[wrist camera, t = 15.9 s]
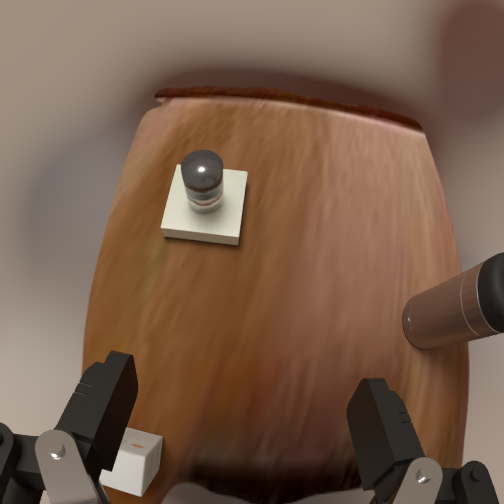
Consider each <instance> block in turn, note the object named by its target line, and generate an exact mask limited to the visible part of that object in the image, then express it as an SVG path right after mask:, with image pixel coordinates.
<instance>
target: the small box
mask: <svg viewBox="0 0 504 504" xmlns="http://www.w3.org/2000/svg"><path fill="white" fill-rule="evenodd" d="M162 442H163V437H162V436H159V435H154V434H150V433H146V432H143V431H139V430H135V429H132V428H128V427H126V430H125V433H124V436H123V439H122V442H121V445H120V448H119V451H118V454H117V457H116V461H115V464H114V467H113V470H112V472H110V471H107V470H103V469H102V472H101V475H100V478H99V479H100V482H101V484H103V485H105V486H108V487H111V488H114V489H117V490H120V491H123V492H127V493H130V494H133V495H137V496H140V497H141V496H143V494H144V492H145V491H146V489H147V488H148V486H149V485H150V483H151V482H152V480H153V478H154V477H155V475H156V473H157V472H158V470H159V466H160V458H161V450H162Z"/></svg>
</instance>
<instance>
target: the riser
mask: <svg viewBox="0 0 504 504" xmlns="http://www.w3.org/2000/svg"><path fill="white" fill-rule="evenodd" d="M246 179H247V172H244V171H236V170H227V169H223V192H224V200H223V204H222V206H221V207H220V208H219V209H218V210H217V211H216V212H214V213H211V214H199V213H196V212H195V211H193V210H192V209H191V208H190V206H189V204H188V200H187V196H186V191H185V187H184V183H183V178H182V174H181V165H177V167H176V171H175V174H174V178H173V181H172V185H171V189H170V193H169V196H168V200H167V204H166V208H165V212H164V216H163V220H162V224H161V230H162V232H163V234H164V236H165V237H173V238H181V239H190V240H198V241H206V242H214V243H222V244H230V245H238V241H239V233H240V225H241V217H242V210H243V202H244V194H245V187H246Z"/></svg>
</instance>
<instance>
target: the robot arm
mask: <svg viewBox="0 0 504 504" xmlns="http://www.w3.org/2000/svg"><path fill="white" fill-rule="evenodd" d="M403 328H404V332H405V334H406V337H407V338H408V340H409V341H410V343H412V344H413V345H414V346H415V347H417V348H420V349H431V348H436V347H442V346H448V345H453V344H458V343H463V342H467V341H472V340H476V339H481V338H484V337H489V336H492V335H497V334H500V333H504V253H499V254H497V255H495V256H493V257H491V258H490V259H488V260H486V261H484V262H482V263H480V264H478V265H476V266H475V267H473V268H471V269H469V270H467V271H465V272H463V273H461V274H459V275H457V276H455V277H453V278H451V279H449V280H447V281H445V282H443V283H441V284H439V285H437V286H435V287H433V288H431V289H428V290H426V291H424V292H422V293H420V294H418V295H416V296H414V297H412V298H411V299H410V300H409V301H408V303H407V304H406V307H405V309H404V313H403ZM137 393H138V380H137V375H136V369H135V363H134V357H133V355H130V354H126V353H121V352H117V351H111V352H110V353H109V355H108V356H107V358H106V360H105V362H104V363H100V362H95V363H94V364H93V365H91V366H90V367H89V368H88V369H86V370H85V372H84V374H83V376H82V378H81V379H80V383H79V384H78V385H77V387H76V389H75V392H74V393H73V394H72V396H71V398H70V400H69V402H68V404H67V406H66V408H65V410H64V412H63V414H62V416H61V418H60V420H59V422H58V424H57V425H56V427H55V428H54V429H53V430H50V431H46V432H44V433H43V434H41V435H40V436H28V435H19V434H13V433H12V431H11V430H10V429H9V428H8V427H7V426H6V425H5V424H3V423H0V504H40V500H41V496H42V493H43V490H46V491H47V494H48V497H49V499H50V502H51V504H111V503H110V501H109V499H108V497H107V494H106V492H105V490H104V488H103V486H102V484H101V482H100V479H99V478H100V475H101V472H102V469H103V470H107V471H110V472H112V470H113V467H114V464H115V461H116V457H117V454H118V451H119V448H120V445H121V442H122V439H123V436H124V433H125V430H126V427H127V424H128V421H129V418H130V415H131V412H132V410H133V407H134V404H135V401H136V398H137ZM347 421H348V425H349V429H350V433H351V437H352V442H353V446H354V450H355V454H356V459H357V463H358V468H359V472H360V477H361V481H362V486H363V490H364V491H366V490H372V489H374V490H375V494H376V495H375V496H374V497H373V498H372V500H371V502H370V503H369V504H499V502H498V498H497V495H496V492H495V489H494V486H493V484H492V480H491V478H490V475H489V472H488V470H487V468H486V467H485V465H484V464H482V463H481V462H478V461H470V462H468V463H466V464H465V465H464V466H463V467H462V468H461V469H454V468H441V467H440V466H439V464H438V463H437V462H436V461H434V460H432V459H430V458H426V457H425V455H424V453H423V450H422V447H421V445H420V442H419V439H418V437H417V434H416V432H415V429H414V427H413V424H412V423H411V419H410V417H409V414H407V409H406V407H405V404H404V402H403V400H402V399H401V398H400V397H399V396H398V395H397V394H396V393H395V391H389V388H388V386H387V383H386V381H385V380H384V379H383V378H364V379H362V380H361V382H360V383H359V385H358V387H357V389H356V391H355V393H354V395H353V396H352V398H351V400H350V402H349V404H348V407H347Z"/></svg>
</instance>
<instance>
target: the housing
mask: <svg viewBox="0 0 504 504" xmlns="http://www.w3.org/2000/svg"><path fill="white" fill-rule="evenodd" d="M181 174H182V178H183V183H184V187H185V191H186V196H187V200H188V204H189V206H190V208H191V209H192V210H193V211H195V212H196V213H199V214H211V213H214V212H216V211H217V210H218V209H219V208H220V207H221V206H222V204H223V200H224V192H223V162H222V160H221V158H220V157H219V156H218V155H217V154H216V153H214V152H212V151H208V150H198V151H195V152H192V153H190V154H189V155H187V156H186V157H185V158H184V160H183V161H182V163H181Z"/></svg>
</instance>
